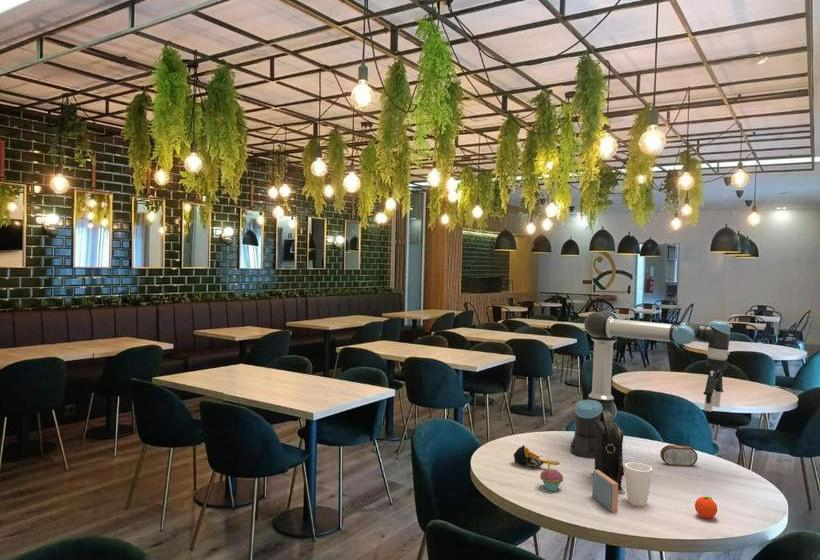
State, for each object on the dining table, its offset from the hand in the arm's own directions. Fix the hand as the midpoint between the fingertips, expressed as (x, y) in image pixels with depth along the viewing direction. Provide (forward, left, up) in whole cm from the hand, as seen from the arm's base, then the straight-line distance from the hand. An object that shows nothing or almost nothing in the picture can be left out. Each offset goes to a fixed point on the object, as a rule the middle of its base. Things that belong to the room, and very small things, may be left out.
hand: (711, 408), depth 240 cm
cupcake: (-41, -62, -27) cm, 80 cm away
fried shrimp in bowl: (-57, -45, -28) cm, 78 cm away
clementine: (+10, -48, -27) cm, 57 cm away
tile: (-21, -62, -27) cm, 71 cm away
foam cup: (-12, -52, -27) cm, 61 cm away
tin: (-12, +2, -28) cm, 30 cm away
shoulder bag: (-28, -40, -27) cm, 57 cm away
